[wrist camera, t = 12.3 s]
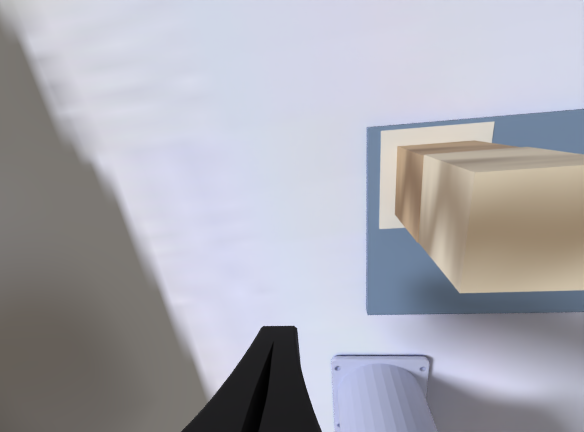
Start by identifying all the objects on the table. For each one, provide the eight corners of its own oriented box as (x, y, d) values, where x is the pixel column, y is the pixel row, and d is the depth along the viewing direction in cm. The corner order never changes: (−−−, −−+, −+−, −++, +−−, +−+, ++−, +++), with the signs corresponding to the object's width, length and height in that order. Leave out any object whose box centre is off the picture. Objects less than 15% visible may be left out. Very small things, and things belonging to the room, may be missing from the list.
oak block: (465, 210, 18) (510, 238, 14) (394, 214, 19) (417, 242, 15) (474, 140, 17) (527, 148, 13) (397, 146, 17) (423, 155, 13)
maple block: (511, 238, 14) (594, 289, 10) (418, 242, 15) (459, 293, 10) (527, 146, 13) (634, 161, 8) (423, 154, 13) (475, 172, 9)
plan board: (579, 306, 21) (588, 312, 20) (366, 310, 22) (368, 315, 22) (641, 104, 16) (654, 103, 15) (366, 127, 18) (368, 127, 17)
